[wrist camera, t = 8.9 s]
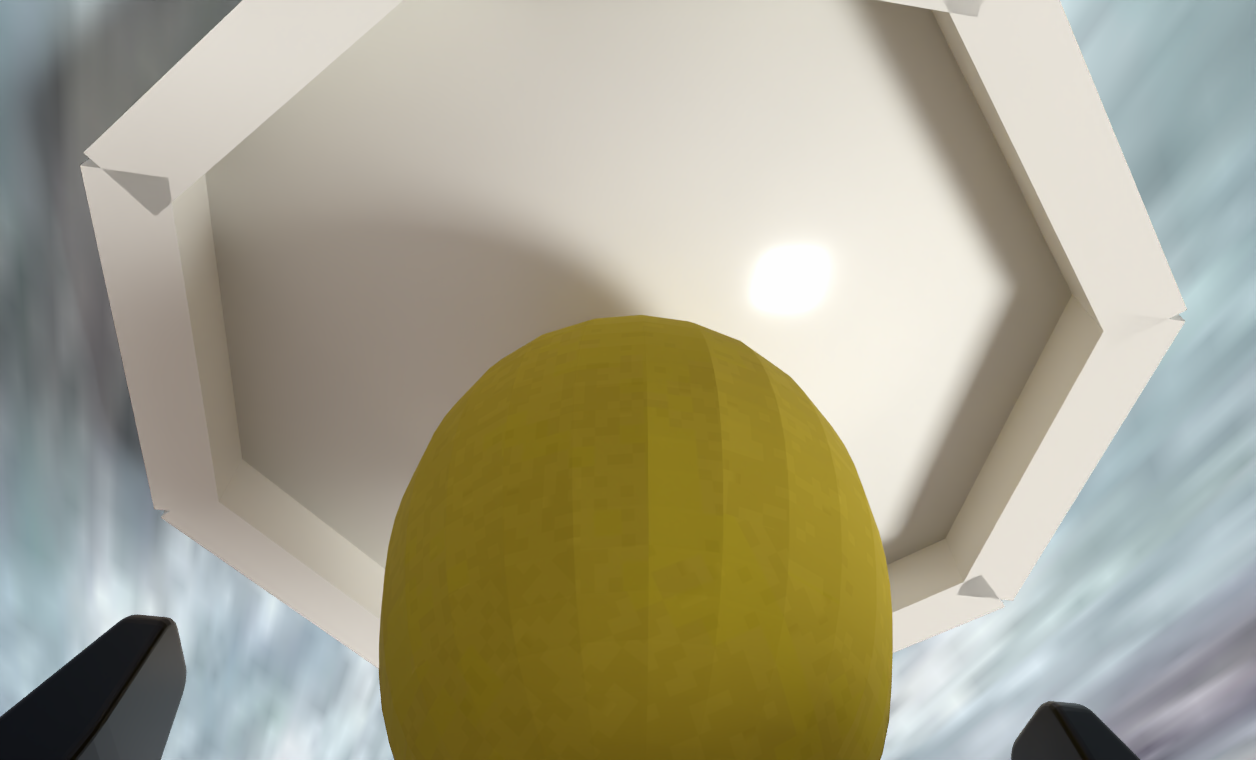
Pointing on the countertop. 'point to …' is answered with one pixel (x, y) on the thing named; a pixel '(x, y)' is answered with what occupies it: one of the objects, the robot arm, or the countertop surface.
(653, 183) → the dish
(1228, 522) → the countertop surface
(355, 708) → the countertop surface
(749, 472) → the lemon
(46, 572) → the countertop surface
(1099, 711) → the countertop surface
